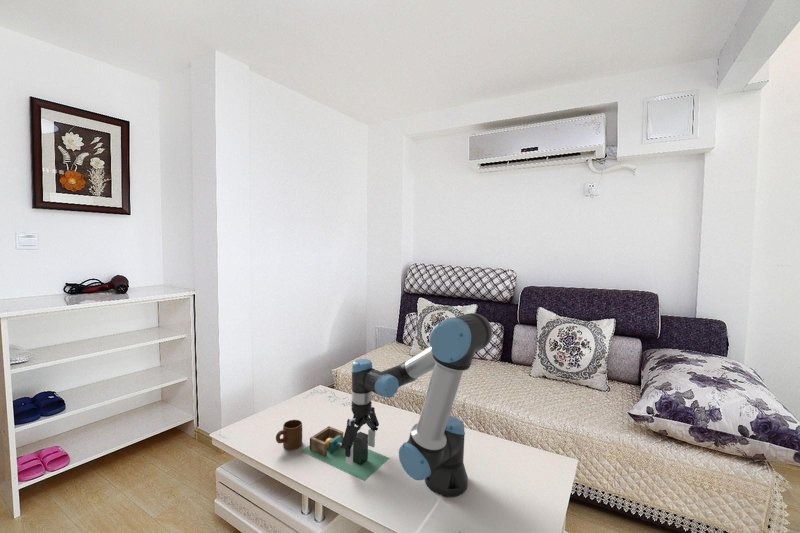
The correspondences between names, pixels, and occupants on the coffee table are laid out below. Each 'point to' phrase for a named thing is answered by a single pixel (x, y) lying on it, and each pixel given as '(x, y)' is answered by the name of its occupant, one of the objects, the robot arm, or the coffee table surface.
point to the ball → (328, 442)
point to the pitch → (357, 470)
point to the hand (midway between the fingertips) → (360, 454)
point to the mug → (291, 435)
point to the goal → (323, 440)
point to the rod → (358, 447)
